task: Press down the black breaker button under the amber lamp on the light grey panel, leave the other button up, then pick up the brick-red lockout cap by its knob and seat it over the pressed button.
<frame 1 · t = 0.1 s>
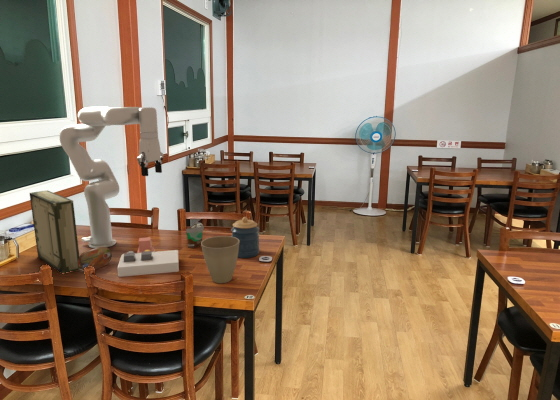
hand: (152, 174, 198), 37 cm above the table, tool pointing down, fingers open, 9 cm apart
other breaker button: (129, 259, 186), point 4 cm above the table, slide at 0.0 cm
canister: (245, 254, 204), on the table
tin: (96, 268, 188), on the table
plant pot: (221, 280, 175), on the table
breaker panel: (149, 267, 188), on the table
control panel: (58, 263, 194), on the table
lockout cap: (146, 255, 202), on the table
tagged breaker button: (146, 257, 187), point 4 cm above the table, slide at 0.0 cm
food container: (197, 245, 217), on the table
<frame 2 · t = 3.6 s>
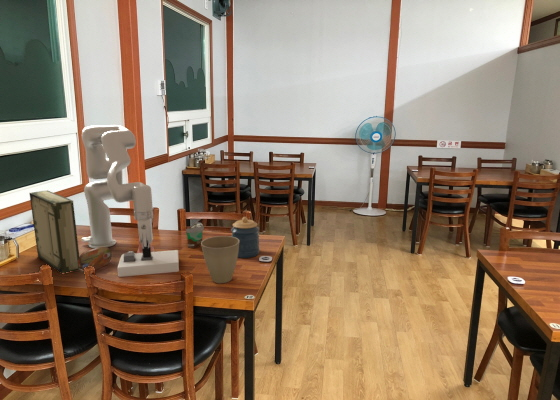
hand: (147, 256, 187), 5 cm above the table, tool pointing down, fingers closed
tagged breaker button: (147, 261, 187), point 3 cm above the table, slide at 1.6 cm
everything else where it was.
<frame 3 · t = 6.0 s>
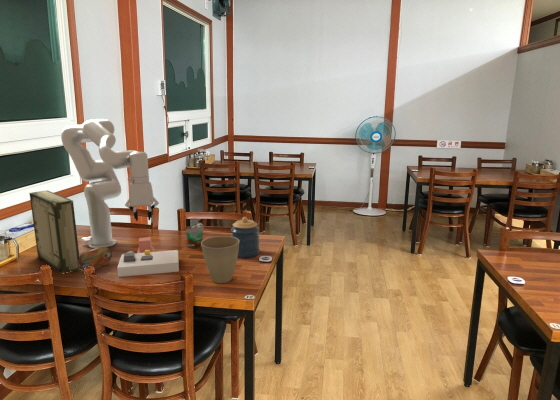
hand: (143, 219, 198), 17 cm above the table, tool pointing down, fingers open, 4 cm apart
nothing on the table moved.
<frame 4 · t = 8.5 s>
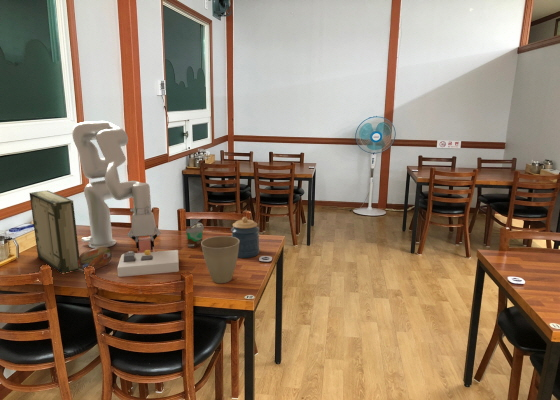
hand: (145, 248, 201), 3 cm above the table, tool pointing down, fingers closed on lockout cap, 5 cm apart
lockout cap: (146, 255, 202), on the table, touching gripper
everything else where it was.
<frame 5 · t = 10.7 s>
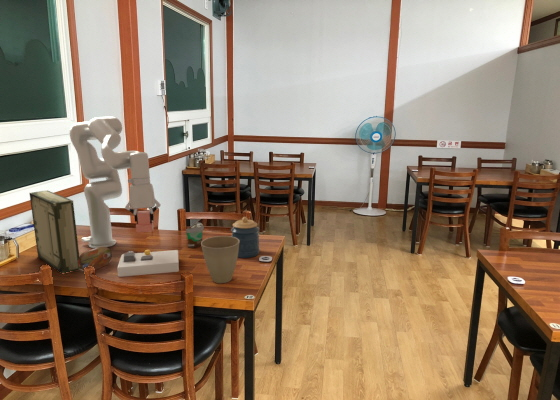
hand: (144, 222, 191), 18 cm above the table, tool pointing down, fingers closed on lockout cap, 5 cm apart
lockout cap: (145, 229, 192), point 15 cm above the table, touching gripper
everything else where it was.
when the fingers open (8 cm above the table, at t = 13.3 s): lockout cap stays where it is, resting on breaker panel.
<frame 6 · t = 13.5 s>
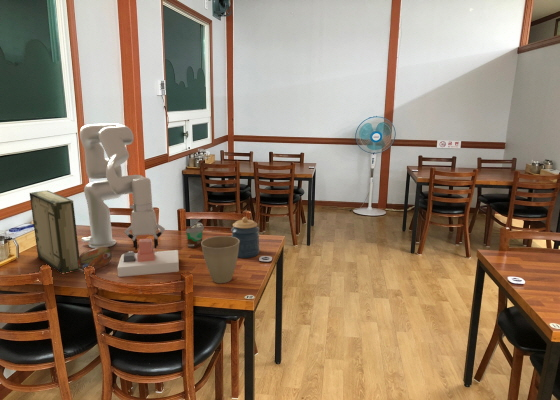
hand: (146, 247, 186), 9 cm above the table, tool pointing down, fingers open, 7 cm apart
lockout cap: (146, 258, 187), point 4 cm above the table, touching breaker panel
everything else where it was.
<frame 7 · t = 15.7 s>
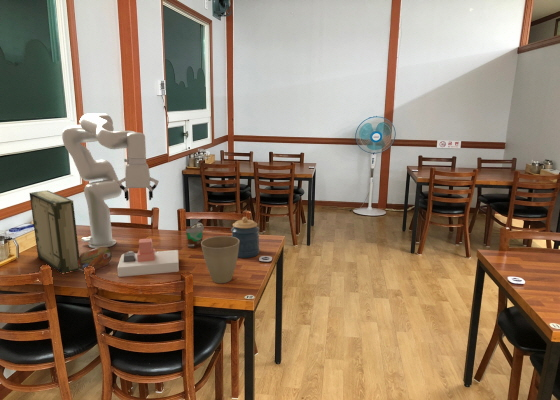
hand: (139, 199, 195), 27 cm above the table, tool pointing down, fingers open, 9 cm apart
nothing on the table moved.
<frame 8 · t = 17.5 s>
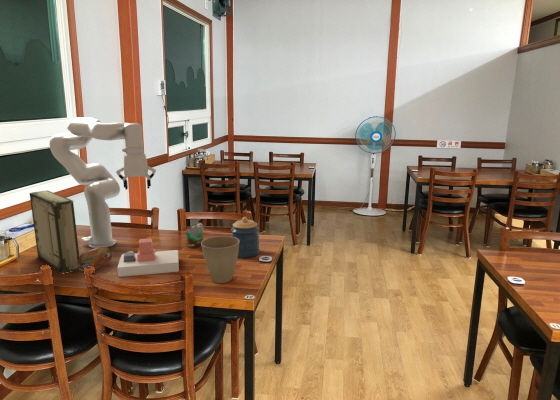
hand: (137, 188, 201), 30 cm above the table, tool pointing down, fingers open, 9 cm apart
nothing on the table moved.
at the end: tagged breaker button slide at 1.9 cm; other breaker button slide at 0.0 cm; lockout cap 0.0 cm from the target spot on the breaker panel, point 4.0 cm above the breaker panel's base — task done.
